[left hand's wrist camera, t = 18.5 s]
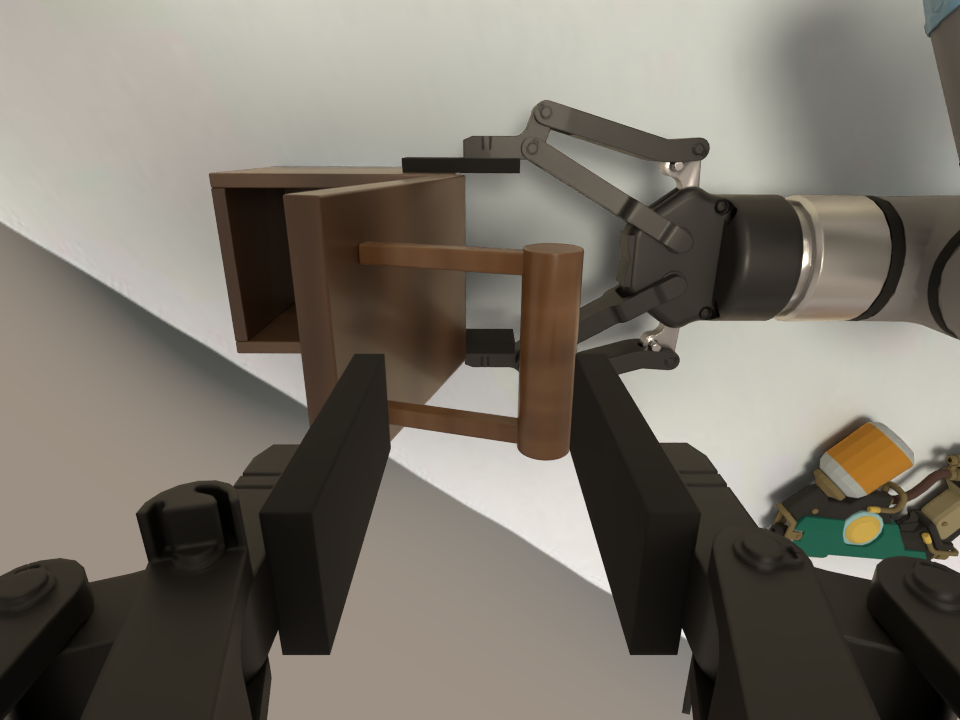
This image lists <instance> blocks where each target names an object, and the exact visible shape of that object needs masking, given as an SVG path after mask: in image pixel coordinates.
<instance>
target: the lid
mask: <svg viewBox="0 0 960 720" xmlns="http://www.w3.org/2000/svg"><path fill="white" fill-rule="evenodd" d="M283 201H284V210H285V218H286V227H287V235H288V244H289V252H290V261H291V269H292V278H293V287H294V295H295V304H296V312H297V321H298V329H299V338H300V346H301V355H302V363H303V372H304V380H305V389H306V397H307V406H308V415H309V423H310V427H311V425H312V424H313V422H314V420H315V419H316V417H317V415H318V414H319V412H320V410H321V409H322V407H323V405H324V404H325V402H326V400H327V399H328V397H329V395H330V394H331V392H332V390H333V389H334V387H335V385H336V384H337V382H338V380H339V379H340V377H341V375H342V374H343V372H344V370H345V369H346V367H347V366H348V364H349V362H350V361H351V359H352V357H353V356H354V354H385V368H386V383H387V399H388V414H389V429H390V442H391V440H392V439H393V438H394V437H395V436H396V435H397V434H398V433H399V432H400V431H401V430H402V428H403V427H411V428H417V429H424V430H431V431H437V432H444V433H451V434H457V435H464V436H471V437H477V438H484V439H490V440H497V441H504V442H510V443H517V448H518V450H519V451H520V452H521V453H522V454H523V455H525V456H527V457H529V458H532V459H537V460H556V459H559V458H562V457H564V456H566V455H567V454H568V452H569V450H570V449H569V444H570V429H571V414H572V399H573V383H574V368H575V354H577V342H578V327H579V313H580V299H581V284H582V270H583V256H584V249H583V248H581V247H579V246H575V245H569V244H558V243H541V244H532V245H527V246H525V247H524V248H523V250H520V249H502V248H483V247H465V175H436V176H428V177H420V178H412V179H404V180H396V181H387V182H379V183H371V184H363V185H355V186H347V187H339V188H331V189H323V190H315V191H307V192H299V193H290V194H285V195H283ZM466 272H480V273H495V274H510V275H522V296H521V328H520V360H519V392H518V418H514V417H507V416H500V415H492V414H485V413H478V412H471V411H463V410H456V409H449V408H442V407H434V406H427V405H425V403H426V402H427V401H428V400H429V399H430V398H431V397H432V396H433V395H434V394H435V393H436V391H437V390H438V389H439V388H440V387H441V386H442V385H443V384H444V383H445V382H446V381H447V380H448V378H449V377H450V376H451V375H452V374H453V373H454V372H455V371H456V370H457V369H458V368H459V366H460V365H461V364H462V363H463V362H464V361H465V360H466Z"/></svg>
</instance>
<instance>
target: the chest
mask: <svg viewBox="0 0 960 720" xmlns="http://www.w3.org/2000/svg"><path fill="white" fill-rule="evenodd" d="M436 175H461V173H455V172H402V167H295V166H275V167H267V168H257V169H247V170H236V171H226V172H216V173H209V178H210V184H211V187H212V189H211V191H212V197H213V203H214V209H215V215H216V222H217V228H218V234H219V240H220V247H221V253H222V259H223V265H224V272H225V278H226V284H227V290H228V297H229V303H230V309H231V315H232V321H233V328H234V334H235V340H236V346H237V352H238V353H301V346H300V338H299V329H298V321H297V312H296V304H295V295H294V287H293V278H292V269H291V261H290V252H289V244H288V235H287V227H286V218H285V210H284V201H283V195H285V194H290V193H299V192H307V191H315V190H323V189H331V188H339V187H347V186H355V185H363V184H371V183H379V182H387V181H396V180H404V179H412V178H420V177H428V176H436Z"/></svg>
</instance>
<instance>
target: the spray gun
mask: <svg viewBox="0 0 960 720" xmlns="http://www.w3.org/2000/svg"><path fill="white" fill-rule="evenodd" d="M946 462H947V463H948V464H950V465H949V467H948V468H946V467H944V468H942V469H941V470H937V471H934V472H933V473H931V474H929V475H928V476H927V477H926V478H925V479H924V480H922V481H921V482H920V483H919V484H918V485H916V486H915V487H914V488H912V489H911V490H909V491H907V492H904V491H903V490H902V489H901V487H899V486H898V485H896V484H895V483H893V482H892V481H890V480H892V479H893V478H895V477H896V476H898V475H899V474H901V473H903V472H904V471H906V470H907V469H909V468H910V467H912V466H913V464H914V453H913V452H912V450H911V449H910V448H909V447H908V446H907V444H906V443H905V442H904V441H903V440H902V439H901V438H900V437H898V436H897V435H896V434H895V433H894V432H893V431H892V430H890V429H889V428H888V427H887V426H885V425H884V424H882V423H878V422H867V423H865V424H864V425H863V426H861V427H860V428H858V429H857V430H856V431H854V432H853V433H851V434H850V435H849V436H847V437H846V438H845V439H843V440H842V441H840V442H839V443H838V444H836V445H835V446H833V447H832V448H831V449H829V450H828V451H826V452H825V453H824V455H823V456H822V457H821V458H820V469H821V470H820V469H817V470H815V471H814V476H815V483H816V484H817V485H816V484H812V485H810V486H808V487H806V488H805V489H803V490H801V491H800V492H798V493H796V494H795V495H793V496H791V497H790V498H788V499H786V500H785V501H783V502H782V504H781V503H778V504H777V505H776V507H777V508H778V509H779V512H778V514H777V516H776V519H775V521H774V523H773V525H772V527H771V528H770V530H771V531H773V532H775V533H777V534H779V535H782V536H784V537H786V538H788V539H789V540H791V541H792V542H793V543H795V544H796V545H797V546H799V547H800V548H801V549H803V551H804V552H805V553H806V555H807V556H808V557H819V558H824V557H827V555H839V556H850V557H862V558H874V559H885V558H889V557H895V556H907V557H915V558H922V559H925V560H931V559H933V558H935V559H942V560H945V559H947V558H948V557H949V556H958V553H959V552H958V550H957V549H956V548H955V547H953V543H952V542H951V541H953V540H954V539H955V538H956V537H957V536H959V535H960V455H949V456H947V457H946ZM942 478H943V479H945V480H946V481H947V484H948V489H946V490H945V491H944V492H942V493H941V494H940V495H938V496H937V497H936V498H934V499H933V500H932V501H930V502H929V503H928V504H926V505H925V506H924V507H923V508H922V509H921V511H919V510H916V509H914V510H912V509H910V510H908V514H907V516H906V517H905V518H903V519H901V520H897V521H895V522H894V521H893V520H892V519H891V518H890V514H889V513H897V512H899V511H901V510H902V509H903V508H904V507H905V505H906V503H907V502H908V501H910V500H912V499H914V498H916V497H918V496H919V495H921V494H922V493H924V492H925V491H926V490H928V489H929V488H930V487H931V486H932V485H933V484H934V483H935V482H937V481H938V480H940V479H942ZM882 485H883V487H882V488H881V491H874V490H876V489H877V488H879V487H881V486H882ZM890 487H891V488H892V489H893V490H895V491H896V492H897V493H898V494H899V495H895V496H891V495H890V494H888V491H889V488H890ZM891 504H896V505H895V506H894V507H892V508H889V505H891ZM783 516H784V517H785V518H782V517H783ZM949 550H951V551H949Z"/></svg>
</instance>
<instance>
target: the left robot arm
mask: <svg viewBox="0 0 960 720" xmlns="http://www.w3.org/2000/svg"><path fill="white" fill-rule="evenodd" d="M390 449H391V444H390V429H389V414H388V399H387V383H386V368H385V354H354V356H353V357H352V359H351V361H350V362H349V364H348V366H347V367H346V369H345V370H344V372H343V374H342V375H341V377H340V379H339V380H338V382H337V384H336V385H335V387H334V389H333V390H332V392H331V394H330V395H329V397H328V399H327V400H326V402H325V404H324V405H323V407H322V409H321V410H320V412H319V414H318V415H317V417H316V419H315V420H314V422H313V424H312V425H311V427H310V429H309V430H308V432H307V434H306V435H305V437H304V439H303V440H302V442H301V444H300V445H272V446H271V447H269V448H268V449H266V450H265V451H263V452H262V453H260V454H259V455H257V456H256V457H254V458H253V460H252V461H251V463H250V464H249V465H248V466H247V468H246V469H245V471H244V472H243V476H240V478H239V479H238V480H237V482H236V483H235V485H234V487H233V486H232V485H230V484H228V483H224V482H220V481H216V480H215V481H196V482H192V483H187V484H182V485H178V486H176V487H173V488H171V489H168V490H166V491H163V492H161V493H159V494H158V495H156V496H155V497H153V498H152V499H150V500H149V501H147V502H146V503H145V504H144V505H143V506H142V507H141V508H140V509H139V511H138V512H137V513H136V517H137V520H138V524H139V528H140V532H141V535H142V539H143V543H144V547H145V551H146V554H147V558H148V562H149V563H148V565H147V567H146V569H145V570H143V571H139V572H135V573H131V574H127V575H122V576H117V577H113V578H108V579H103V580H99V581H94V582H88V579H87V576H86V573H85V569H84V567H83V566H81V565H80V564H79V563H78V562H77V561H75V560H68V559H62V558H58V559H50V560H42V561H37V562H33V563H30V564H28V565H27V564H26V565H23V566H21V567H18V568H15V569H13V570H12V571H10V572H8V573H6V574H4V575H2V576H0V720H267V714H268V705H269V696H270V687H271V671H270V664H269V658H268V653H269V651H270V648H271V646H272V643H273V641H274V639H275V636H276V634H277V631H278V630H279V636H280V642H281V648H282V654H283V655H330V653H331V649H332V646H333V642H334V639H335V635H336V632H337V629H338V625H339V622H340V619H341V615H342V612H343V609H344V605H345V602H346V598H347V595H348V591H349V588H350V585H351V581H352V578H353V574H354V571H355V568H356V564H357V561H358V558H359V554H360V551H361V547H362V544H363V541H364V537H365V534H366V530H367V527H368V524H369V520H370V517H371V514H372V510H373V507H374V503H375V500H376V496H377V493H378V490H379V486H380V483H381V479H382V476H383V473H384V469H385V466H386V462H387V459H388V456H389V452H390ZM569 449H570V452H571V456H572V459H573V463H574V466H575V469H576V473H577V476H578V480H579V483H580V486H581V490H582V493H583V497H584V500H585V503H586V507H587V510H588V514H589V517H590V520H591V524H592V527H593V531H594V534H595V537H596V541H597V544H598V547H599V551H600V554H601V558H602V561H603V564H604V568H605V571H606V575H607V578H608V581H609V585H610V588H611V592H612V595H613V598H614V602H615V605H616V609H617V612H618V615H619V619H620V622H621V626H622V629H623V632H624V636H625V639H626V642H627V646H628V649H629V653H630V655H677V653H678V648H679V642H680V636H681V630H682V629H683V631H684V633H685V636H686V638H687V641H688V643H689V645H690V648H691V650H692V659H691V664H690V669H689V675H688V680H687V686H686V691H685V697H684V703H683V710H682V713H685V714H690V710H691V705H692V713H693V720H957V718H959V719H960V573H958V572H956V571H954V570H952V569H950V568H948V567H947V566H945V565H942V564H939V563H936V562H931V561H930V560H925V559H922V558H915V557H907V556H895V557H889V558H885V559H884V560H882V561H881V562H880V563H879V564H877V566H876V569H875V572H874V576H873V579H872V580H868V579H863V578H859V577H854V576H849V575H845V574H840V573H835V572H831V571H827V570H823V569H819V568H816V567H814V566H813V564H812V562H811V560H810V559H809V557H808V556H807V555H806V553H805V552H804V551H803V549H801V548H800V547H799V546H797V545H796V544H795V543H793V542H792V541H791V540H789V539H788V538H786V537H784V536H782V535H779V534H777V533H775V532H773V531H771V530H767V529H763V528H759V527H758V526H757V525H756V523H755V522H754V520H753V519H752V518H751V516H750V515H749V514H748V512H747V511H746V509H745V508H744V507H743V505H742V504H741V503H740V501H739V500H738V498H737V497H736V496H735V494H734V493H733V492H732V490H731V489H730V487H727V483H726V482H725V481H724V479H723V478H722V477H721V475H720V474H718V471H717V470H716V468H715V467H714V466H713V464H712V463H711V461H710V460H709V459H708V457H707V456H706V455H704V454H703V453H701V452H700V451H698V450H697V449H695V448H694V447H692V446H691V445H689V444H688V443H659V442H658V440H657V439H656V437H655V435H654V434H653V432H652V430H651V429H650V427H649V425H648V424H647V422H646V420H645V419H644V417H643V415H642V414H641V412H640V410H639V409H638V407H637V405H636V404H635V402H634V400H633V399H632V397H631V395H630V394H629V392H628V390H627V389H626V387H625V385H624V384H623V382H622V380H621V379H620V377H619V375H618V374H617V372H616V370H615V369H614V367H613V366H612V364H611V362H610V361H609V359H608V357H607V356H606V354H575V368H574V383H573V399H572V414H571V429H570V444H569Z"/></svg>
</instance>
